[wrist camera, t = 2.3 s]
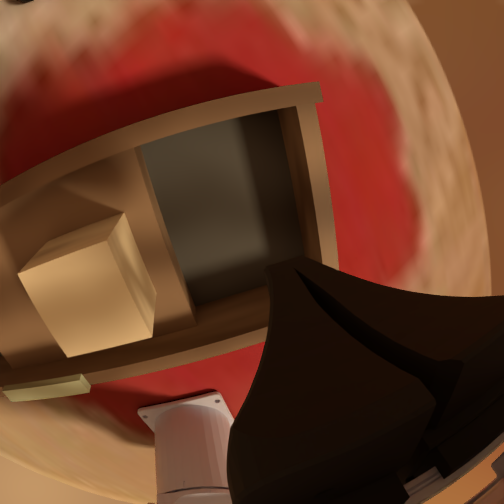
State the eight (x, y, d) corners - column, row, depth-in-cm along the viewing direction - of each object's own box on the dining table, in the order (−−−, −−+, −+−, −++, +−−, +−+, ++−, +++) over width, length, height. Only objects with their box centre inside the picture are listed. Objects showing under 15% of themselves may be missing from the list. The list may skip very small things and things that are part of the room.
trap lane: (320, 278, 22) (353, 318, 17) (-24, 369, 18) (-42, 404, 14) (287, 88, 16) (324, 78, 11) (-89, 253, 13) (-120, 279, 8)
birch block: (156, 293, 17) (152, 337, 13) (84, 314, 16) (67, 357, 13) (124, 212, 14) (106, 240, 11) (47, 241, 14) (17, 274, 10)
